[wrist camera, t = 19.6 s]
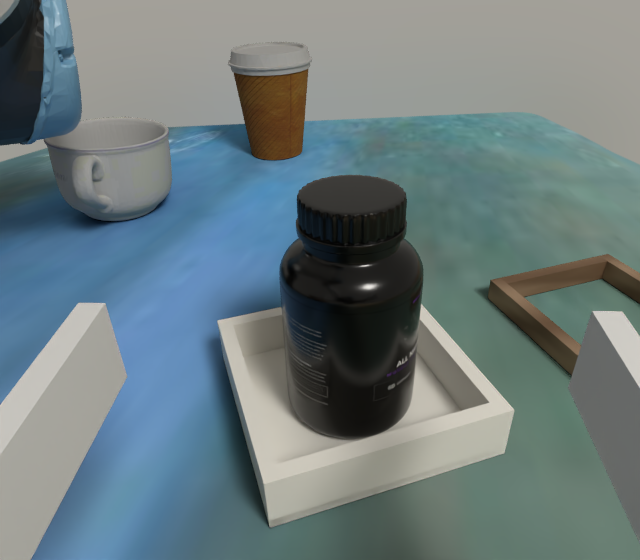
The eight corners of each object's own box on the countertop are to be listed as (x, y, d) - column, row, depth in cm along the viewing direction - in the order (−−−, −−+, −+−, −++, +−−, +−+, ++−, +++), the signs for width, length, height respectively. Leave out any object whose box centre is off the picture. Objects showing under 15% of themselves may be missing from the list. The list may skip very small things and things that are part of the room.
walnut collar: (487, 297, 38) (490, 280, 37) (603, 271, 40) (608, 253, 40) (590, 392, 30) (597, 372, 29) (726, 351, 32) (736, 332, 32)
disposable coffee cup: (238, 142, 70) (226, 43, 63) (310, 137, 71) (306, 39, 64) (239, 168, 62) (226, 57, 55) (320, 161, 63) (317, 52, 56)
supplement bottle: (429, 435, 27) (454, 219, 21) (295, 453, 26) (278, 236, 20) (394, 349, 33) (405, 160, 26) (283, 362, 32) (267, 171, 26)
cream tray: (223, 359, 33) (217, 320, 32) (399, 318, 36) (401, 281, 35) (269, 527, 23) (263, 484, 22) (504, 453, 26) (514, 409, 25)
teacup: (101, 186, 58) (81, 112, 54) (196, 188, 57) (183, 113, 53) (25, 247, 47) (-8, 159, 42) (141, 252, 45) (119, 161, 41)
